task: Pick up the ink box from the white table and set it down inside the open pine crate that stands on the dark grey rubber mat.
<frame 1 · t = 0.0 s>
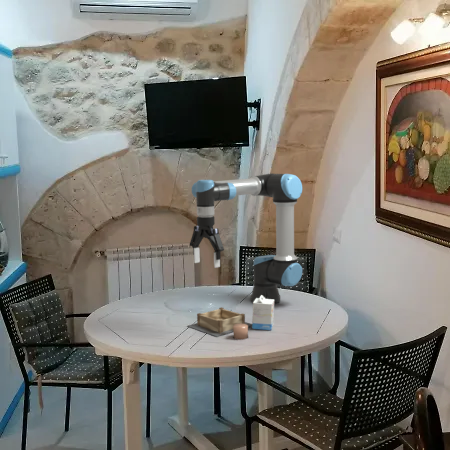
hand: (206, 264, 262), 28 cm above the table, fingers open, 13 cm apart
crate: (221, 326, 267), on the table
brown egg: (240, 337, 252), on the table
ink box: (262, 327, 265), on the table, touching crate
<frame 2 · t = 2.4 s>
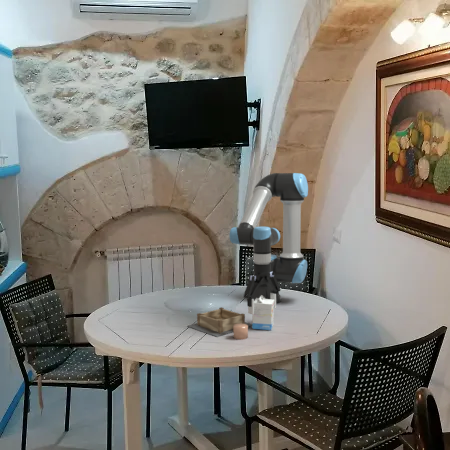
hand: (262, 310, 263), 7 cm above the table, fingers open, 13 cm apart
nothing on the table moved.
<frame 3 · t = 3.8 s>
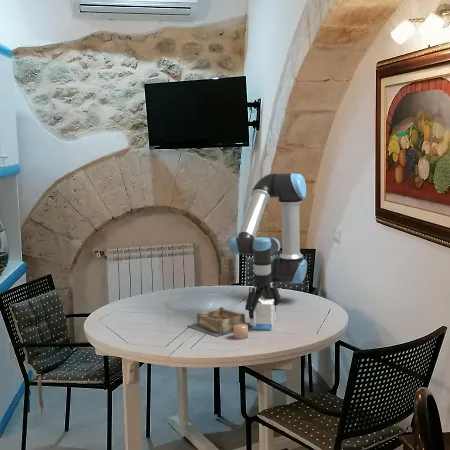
hand: (262, 322, 264), 2 cm above the table, fingers closed on ink box, 11 cm apart
ink box: (262, 327, 265), on the table, touching crate, gripper
everything else where it was.
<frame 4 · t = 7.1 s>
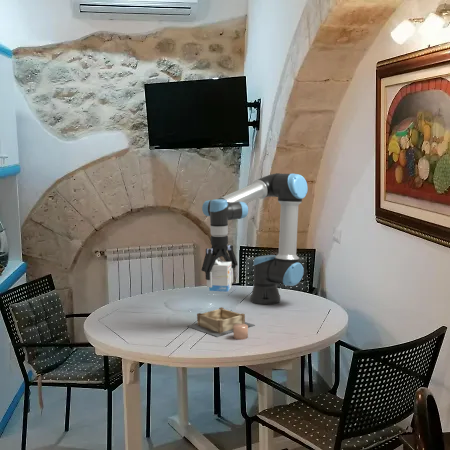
hand: (220, 284, 265), 19 cm above the table, fingers closed on ink box, 11 cm apart
ink box: (220, 289, 265), point 17 cm above the table, touching gripper
everything else where it was.
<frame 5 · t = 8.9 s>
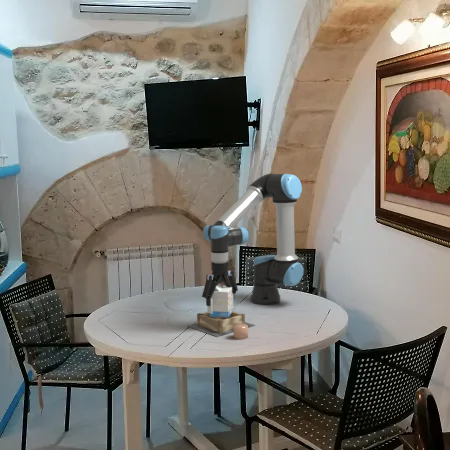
hand: (220, 310, 266), 7 cm above the table, fingers closed on ink box, 11 cm apart
ink box: (220, 314, 266), point 5 cm above the table, touching gripper
everything else where it was.
when the fingers open (6 cm above the table, at t = 10.3 s): ink box drops 3 cm, resting on crate.
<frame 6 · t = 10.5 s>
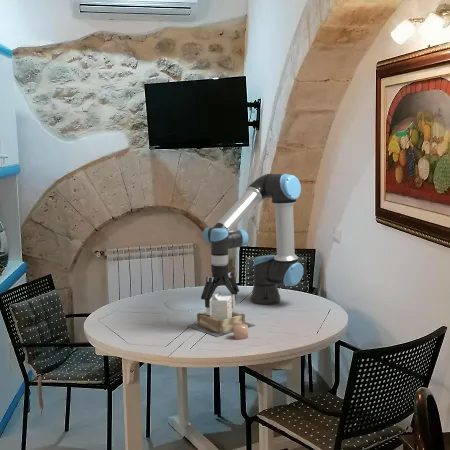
hand: (220, 311, 266), 7 cm above the table, fingers open, 13 cm apart
ink box: (221, 323, 267), point 1 cm above the table, touching crate
everything else where it was.
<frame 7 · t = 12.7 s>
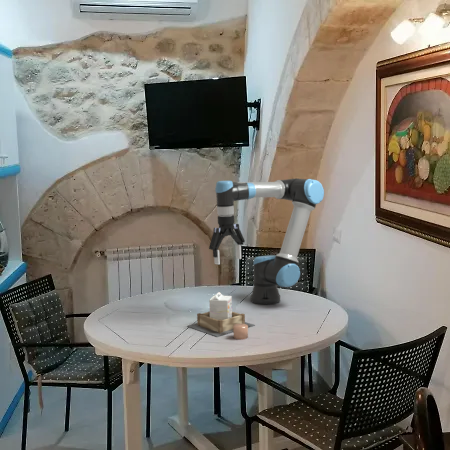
hand: (228, 261, 276), 27 cm above the table, fingers open, 13 cm apart
nothing on the table moved.
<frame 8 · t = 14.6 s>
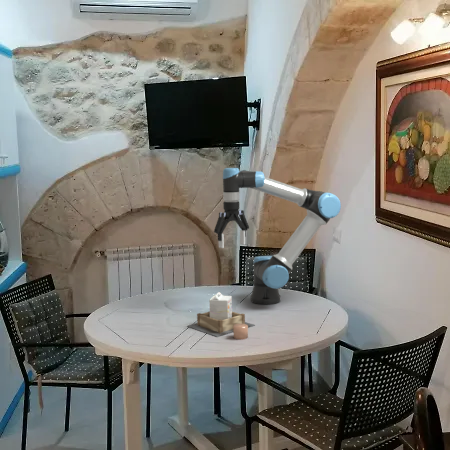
hand: (232, 245, 286), 32 cm above the table, fingers open, 13 cm apart
nothing on the table moved.
at the end: ink box 0.2 cm off-centre on the crate, point 1.0 cm above the crate's base; ink box tilted 0°; the gripper is holding nothing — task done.
